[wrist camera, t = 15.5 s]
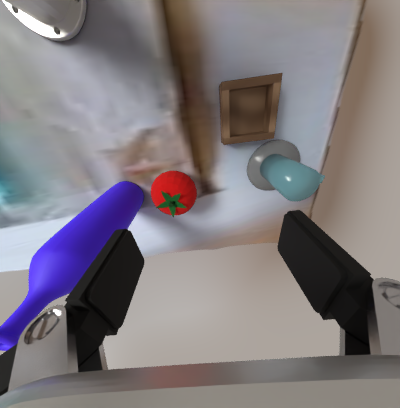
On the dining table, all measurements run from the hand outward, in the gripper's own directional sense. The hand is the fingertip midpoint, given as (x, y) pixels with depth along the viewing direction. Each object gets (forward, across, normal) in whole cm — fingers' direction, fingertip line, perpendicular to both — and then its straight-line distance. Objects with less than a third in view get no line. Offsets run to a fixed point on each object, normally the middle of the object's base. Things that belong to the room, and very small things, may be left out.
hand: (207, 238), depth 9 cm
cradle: (+28, -10, -6) cm, 31 cm away
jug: (+27, -19, +6) cm, 34 cm away
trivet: (+28, -17, +6) cm, 34 cm away
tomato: (+28, +7, +8) cm, 30 cm away
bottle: (+28, +20, +9) cm, 36 cm away
